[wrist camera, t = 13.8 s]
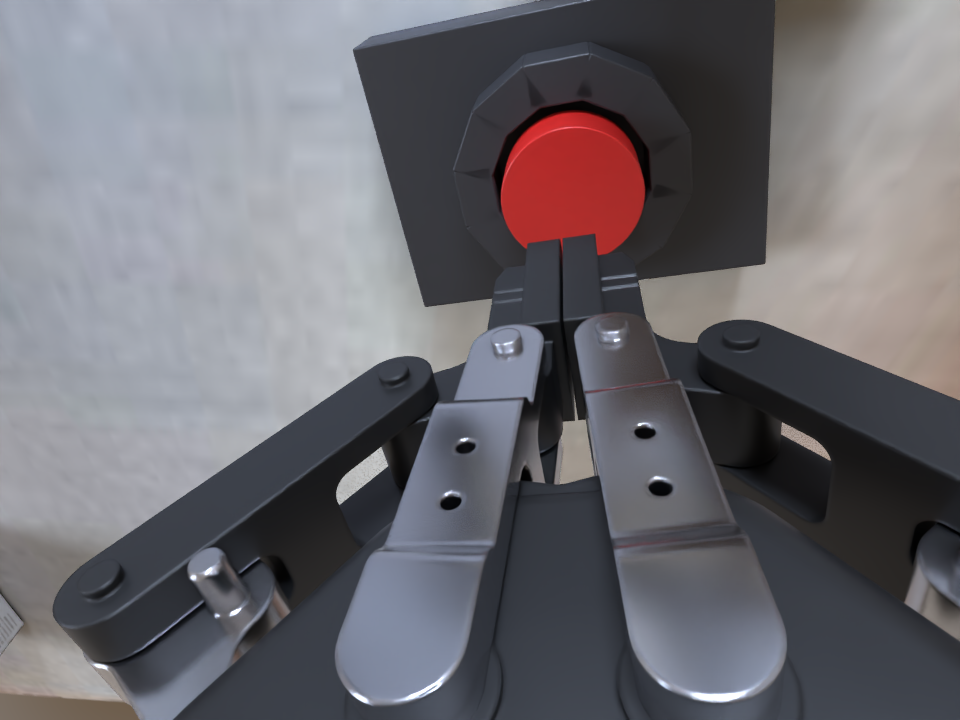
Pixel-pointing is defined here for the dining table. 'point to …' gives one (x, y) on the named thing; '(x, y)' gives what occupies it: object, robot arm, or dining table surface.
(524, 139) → the button
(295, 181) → the dining table surface
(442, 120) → the button box
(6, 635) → the light bulb box
